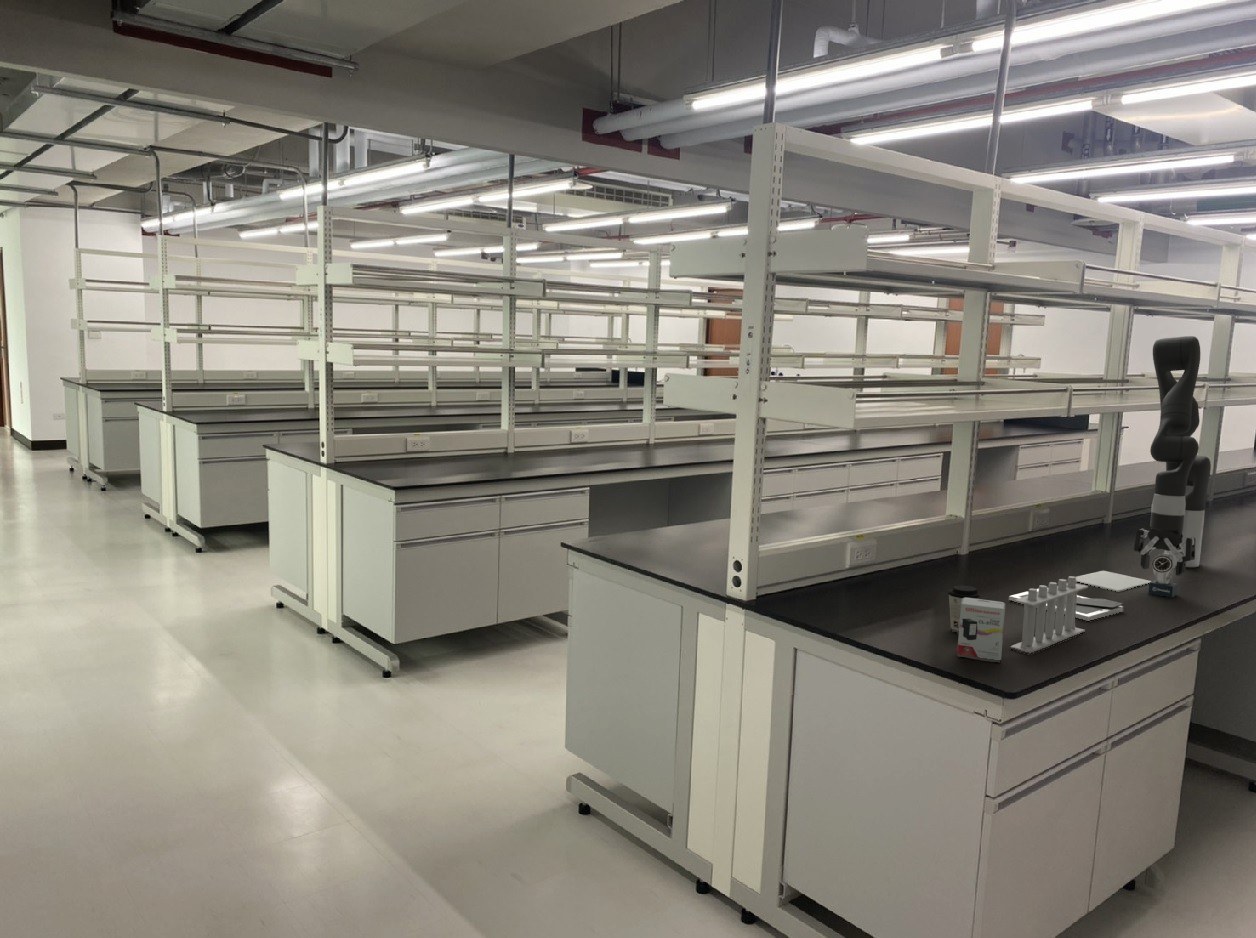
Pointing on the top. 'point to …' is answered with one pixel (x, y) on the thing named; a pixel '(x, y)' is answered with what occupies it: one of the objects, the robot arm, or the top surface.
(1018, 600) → the test tube rack
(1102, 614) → the picture frame
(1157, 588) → the watch
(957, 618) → the coffee cup
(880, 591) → the top surface
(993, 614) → the ink box
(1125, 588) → the mat
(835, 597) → the top surface
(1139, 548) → the robot arm
